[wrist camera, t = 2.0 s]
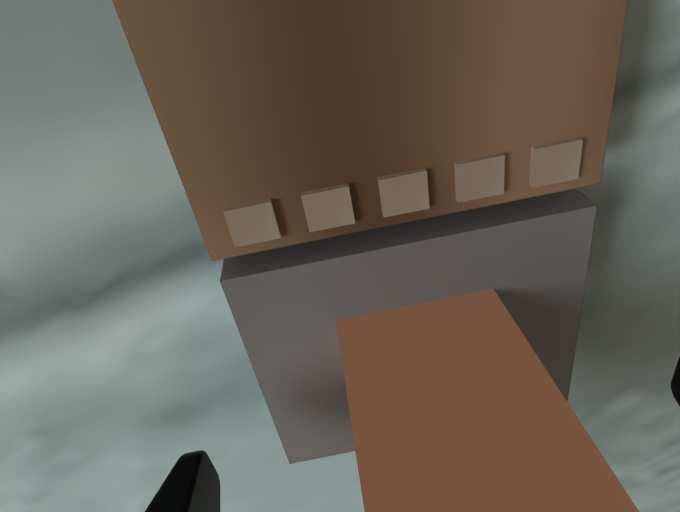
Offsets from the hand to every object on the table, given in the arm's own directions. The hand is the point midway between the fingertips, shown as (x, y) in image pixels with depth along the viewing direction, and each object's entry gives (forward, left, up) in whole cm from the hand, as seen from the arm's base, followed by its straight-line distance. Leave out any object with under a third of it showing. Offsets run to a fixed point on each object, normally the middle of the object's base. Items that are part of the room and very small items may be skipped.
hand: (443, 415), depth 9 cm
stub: (0, 0, -3) cm, 3 cm away
